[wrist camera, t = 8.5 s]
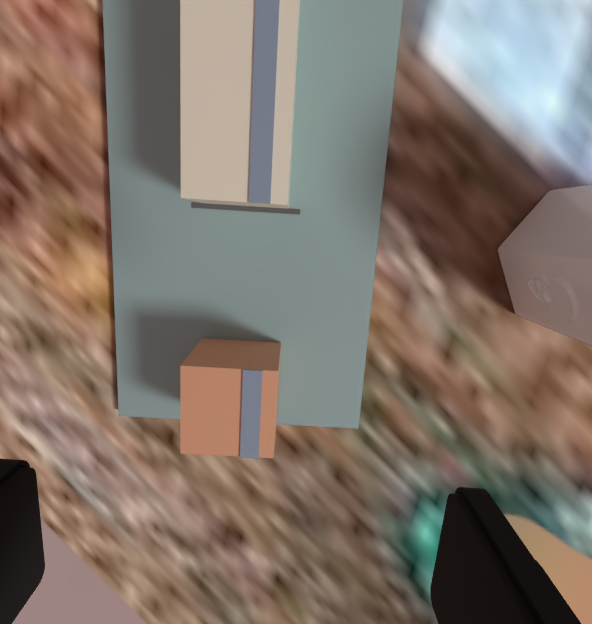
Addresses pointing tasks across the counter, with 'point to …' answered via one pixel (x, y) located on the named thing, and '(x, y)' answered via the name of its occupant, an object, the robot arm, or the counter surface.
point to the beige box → (237, 100)
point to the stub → (230, 398)
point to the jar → (553, 263)
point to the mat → (250, 215)
